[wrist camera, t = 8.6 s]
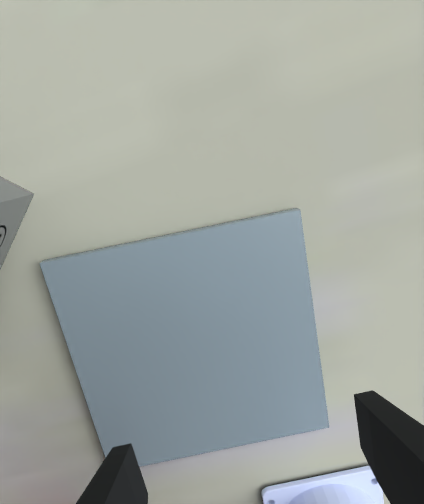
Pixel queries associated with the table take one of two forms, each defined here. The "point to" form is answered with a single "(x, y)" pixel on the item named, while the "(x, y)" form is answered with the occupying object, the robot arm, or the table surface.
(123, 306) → the plate
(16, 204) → the dice cube
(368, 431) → the robot arm
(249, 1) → the table surface
